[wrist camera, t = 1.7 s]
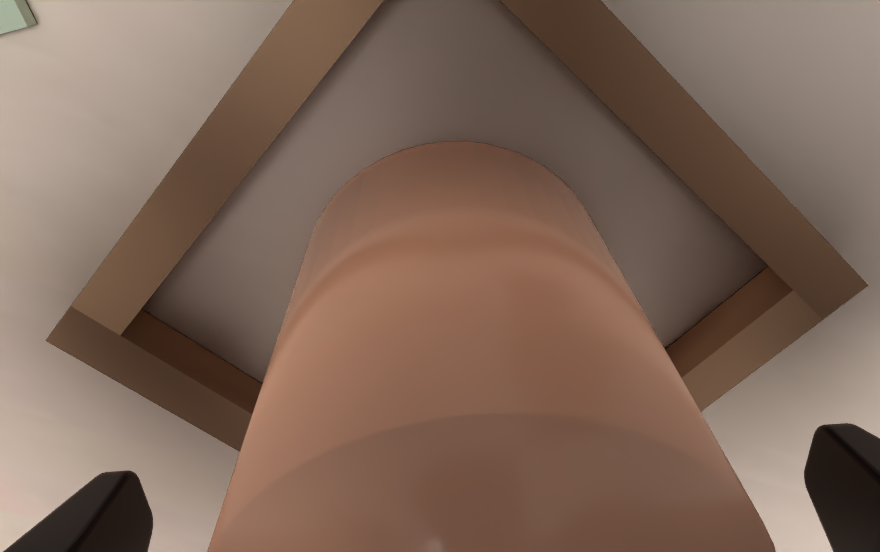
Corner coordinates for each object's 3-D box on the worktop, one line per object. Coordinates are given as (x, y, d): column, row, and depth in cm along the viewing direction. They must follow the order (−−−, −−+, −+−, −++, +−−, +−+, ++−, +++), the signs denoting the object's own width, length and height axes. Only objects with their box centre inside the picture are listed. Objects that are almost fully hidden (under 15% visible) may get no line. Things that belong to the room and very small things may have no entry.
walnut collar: (427, -175, 10) (427, -184, 9) (838, 261, 14) (868, 285, 13) (69, 312, 14) (45, 340, 13) (468, 550, 17) (471, 584, 16)
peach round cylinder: (280, 152, 12) (117, 437, 6) (610, 130, 12) (840, 389, 6) (335, 457, 16) (275, 853, 9) (591, 441, 16) (717, 824, 9)
